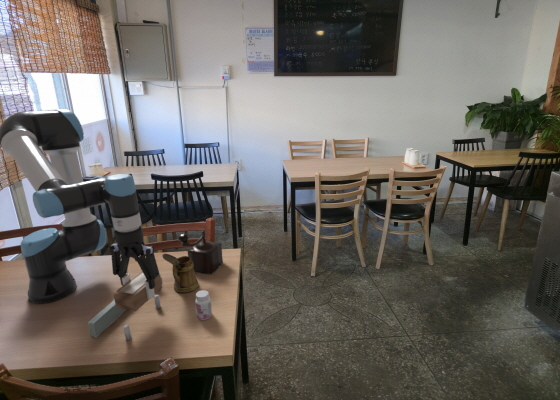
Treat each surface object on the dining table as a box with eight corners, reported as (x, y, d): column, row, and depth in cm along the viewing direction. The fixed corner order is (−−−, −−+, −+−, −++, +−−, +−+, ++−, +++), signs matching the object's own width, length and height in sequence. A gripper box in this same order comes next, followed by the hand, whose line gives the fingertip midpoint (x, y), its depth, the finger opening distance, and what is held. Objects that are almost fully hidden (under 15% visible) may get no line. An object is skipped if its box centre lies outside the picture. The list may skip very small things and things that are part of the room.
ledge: (91, 336, 106) (87, 322, 105) (130, 300, 124) (128, 288, 122) (127, 342, 103) (125, 328, 102) (162, 304, 121) (160, 292, 119)
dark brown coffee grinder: (200, 259, 152) (196, 220, 146) (223, 262, 148) (220, 223, 143) (180, 277, 138) (175, 235, 132) (205, 281, 134) (201, 238, 129)
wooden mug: (160, 297, 125) (154, 252, 119) (183, 278, 137) (178, 236, 131) (182, 302, 122) (175, 255, 116) (203, 282, 134) (198, 239, 128)
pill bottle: (195, 320, 112) (192, 297, 110) (199, 311, 117) (196, 289, 114) (209, 320, 112) (207, 298, 109) (213, 311, 117) (211, 289, 114)
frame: (116, 307, 104) (113, 292, 103) (143, 284, 116) (141, 270, 114) (135, 311, 102) (133, 296, 101) (162, 287, 114) (160, 273, 112)
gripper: (89, 230, 101) (104, 298, 108) (151, 235, 96) (162, 306, 103) (107, 220, 108) (120, 285, 115) (165, 224, 103) (175, 292, 110)
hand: (140, 295), depth 109 cm, fingers closed on frame, 7 cm apart
